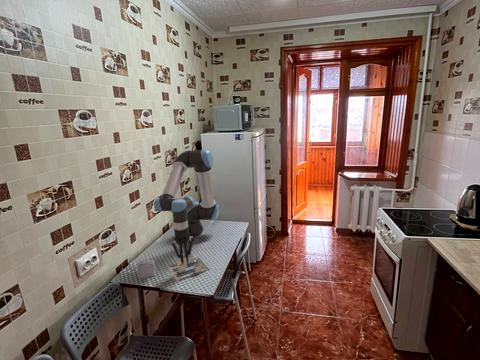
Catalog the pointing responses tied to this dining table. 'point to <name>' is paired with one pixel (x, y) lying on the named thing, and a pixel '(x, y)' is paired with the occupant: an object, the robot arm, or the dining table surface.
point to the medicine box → (147, 268)
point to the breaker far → (190, 258)
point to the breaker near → (198, 268)
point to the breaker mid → (181, 267)
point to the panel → (176, 276)
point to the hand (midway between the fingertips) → (185, 267)
